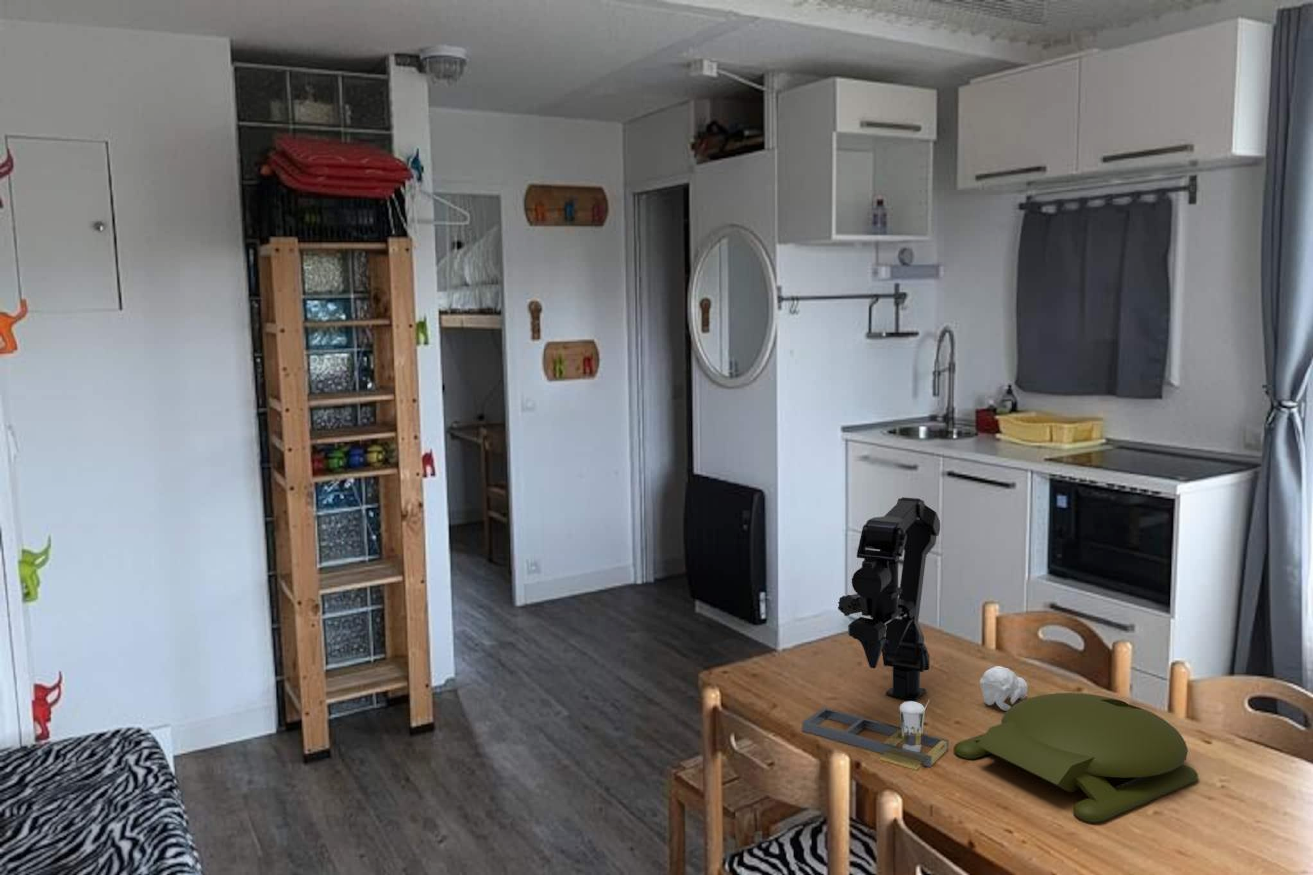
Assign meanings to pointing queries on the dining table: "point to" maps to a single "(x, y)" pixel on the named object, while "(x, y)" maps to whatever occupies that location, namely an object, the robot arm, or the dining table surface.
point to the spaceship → (1089, 750)
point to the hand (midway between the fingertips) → (882, 660)
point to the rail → (887, 748)
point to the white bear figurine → (1002, 687)
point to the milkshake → (912, 725)
